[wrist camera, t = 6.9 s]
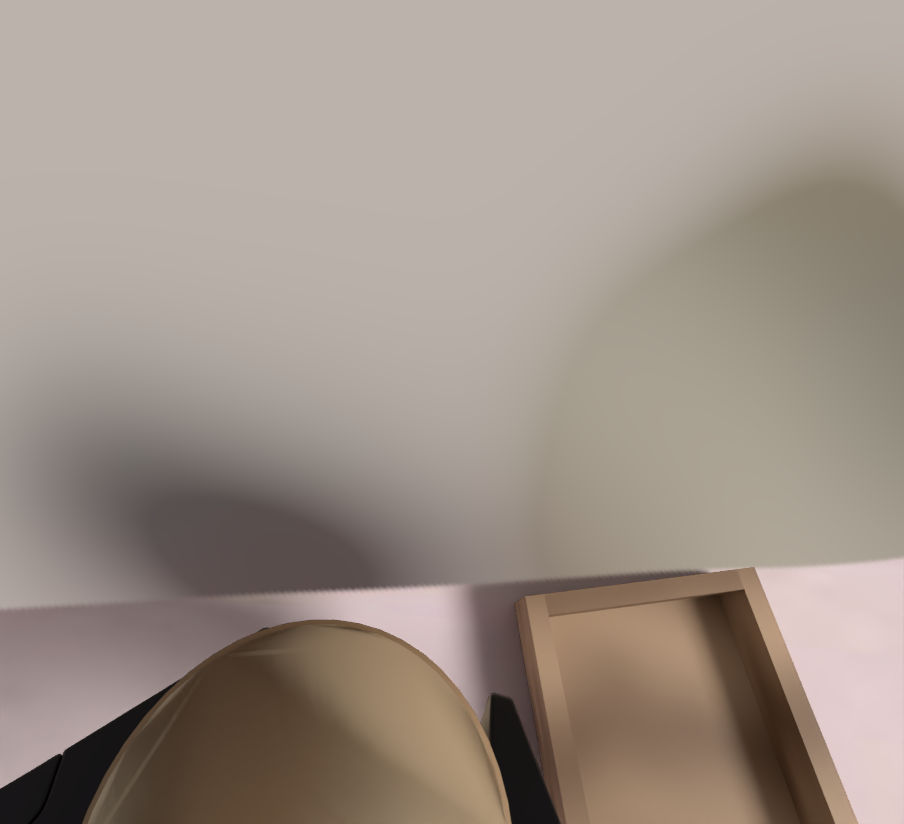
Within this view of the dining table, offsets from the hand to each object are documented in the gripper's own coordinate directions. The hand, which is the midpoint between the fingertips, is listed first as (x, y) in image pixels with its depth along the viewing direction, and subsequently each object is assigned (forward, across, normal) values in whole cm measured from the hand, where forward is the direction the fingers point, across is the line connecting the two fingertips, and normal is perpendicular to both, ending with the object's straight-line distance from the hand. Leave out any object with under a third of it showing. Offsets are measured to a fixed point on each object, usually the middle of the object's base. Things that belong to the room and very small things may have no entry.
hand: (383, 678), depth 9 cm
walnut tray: (+9, -11, +9) cm, 17 cm away
